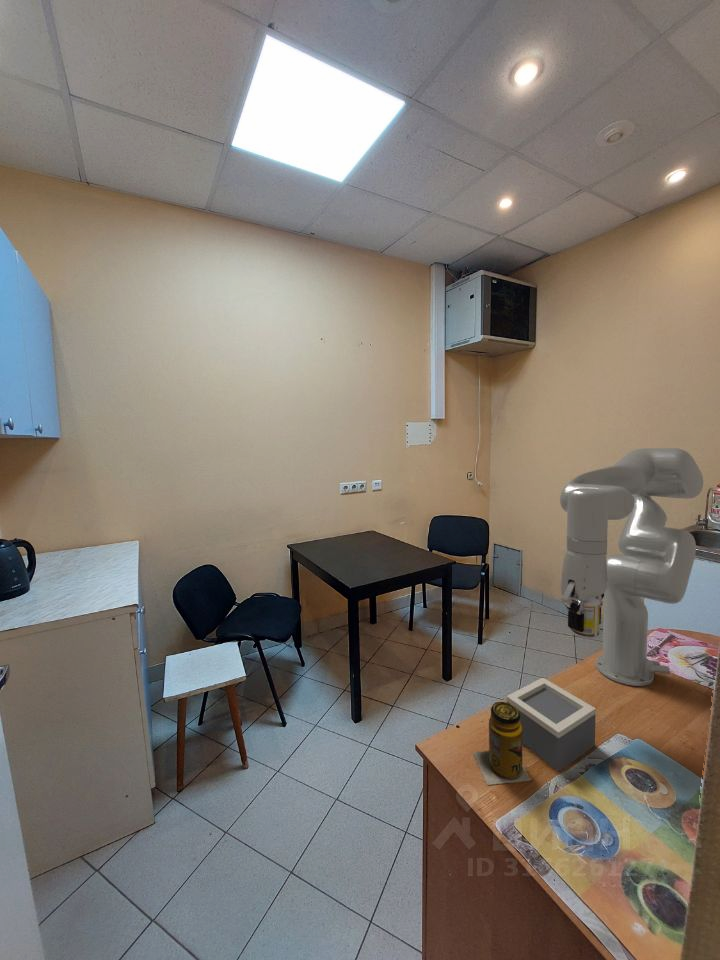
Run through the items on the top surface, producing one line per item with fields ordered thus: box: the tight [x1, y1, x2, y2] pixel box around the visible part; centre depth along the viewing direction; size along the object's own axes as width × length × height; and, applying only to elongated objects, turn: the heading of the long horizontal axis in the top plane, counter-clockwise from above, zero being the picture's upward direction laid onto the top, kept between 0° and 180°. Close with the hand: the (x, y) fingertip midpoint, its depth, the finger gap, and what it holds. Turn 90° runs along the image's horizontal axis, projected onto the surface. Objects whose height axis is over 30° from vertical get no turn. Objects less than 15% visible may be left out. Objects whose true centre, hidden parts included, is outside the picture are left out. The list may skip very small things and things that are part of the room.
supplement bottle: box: [569, 595, 600, 640], centre depth 83 cm, size 6×6×10 cm
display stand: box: [506, 677, 597, 773], centre depth 80 cm, size 12×12×8 cm
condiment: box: [472, 701, 532, 786], centre depth 73 cm, size 7×8×12 cm
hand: (584, 625), depth 84 cm, fingers closed on supplement bottle, 5 cm apart
